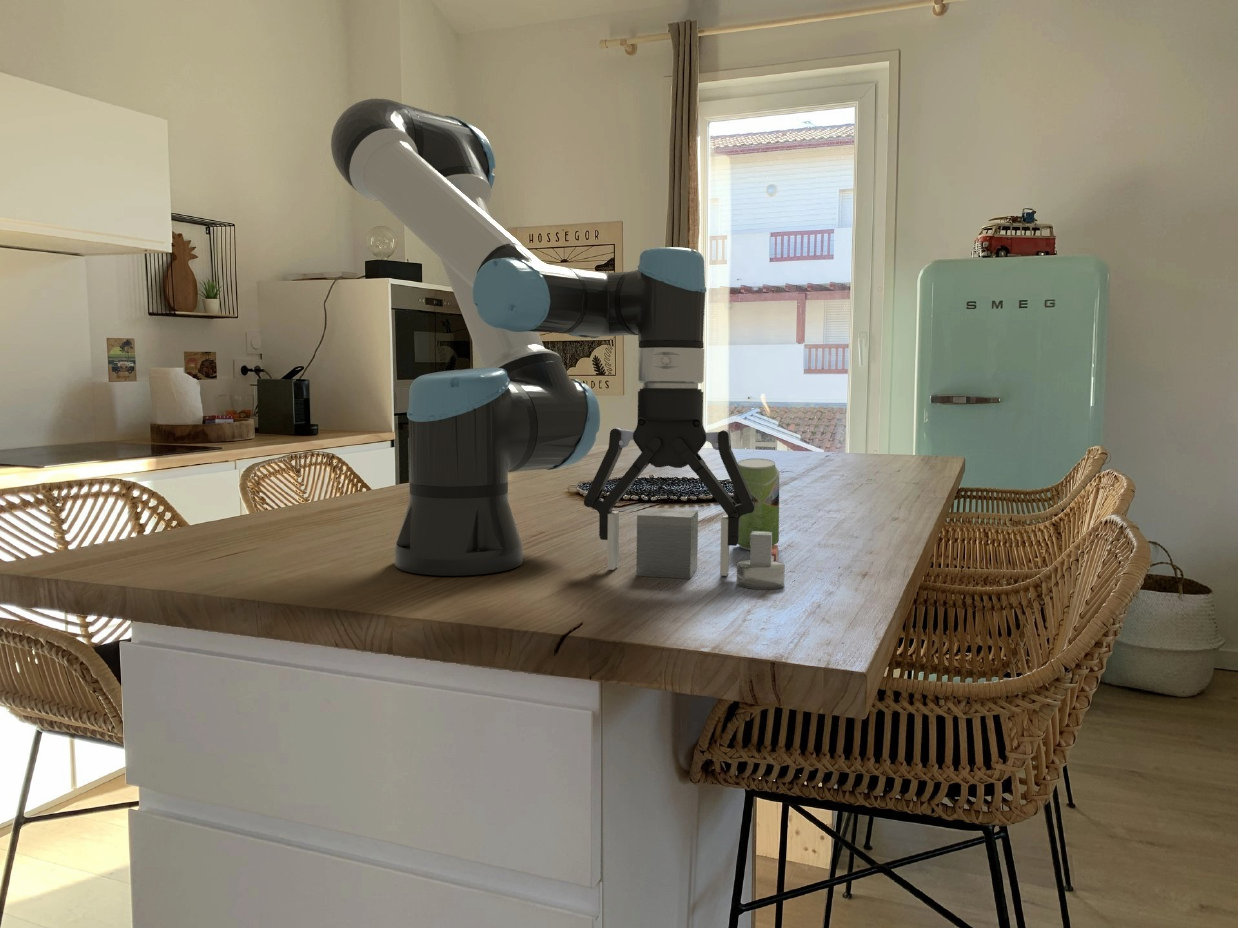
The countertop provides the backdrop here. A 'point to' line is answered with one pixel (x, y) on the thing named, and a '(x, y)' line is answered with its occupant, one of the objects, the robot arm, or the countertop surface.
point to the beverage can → (759, 500)
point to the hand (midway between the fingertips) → (668, 570)
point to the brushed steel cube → (667, 543)
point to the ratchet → (761, 564)
